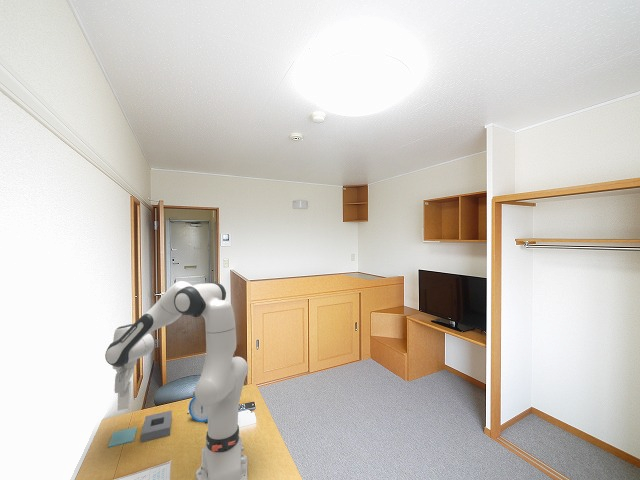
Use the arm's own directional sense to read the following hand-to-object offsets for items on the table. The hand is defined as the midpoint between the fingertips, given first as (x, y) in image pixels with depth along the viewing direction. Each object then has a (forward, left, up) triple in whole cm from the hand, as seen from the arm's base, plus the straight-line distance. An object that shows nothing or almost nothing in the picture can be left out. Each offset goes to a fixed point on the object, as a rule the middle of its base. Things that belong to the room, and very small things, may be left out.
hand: (124, 393), depth 123 cm
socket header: (0, -13, -20) cm, 24 cm away
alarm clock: (0, -33, -20) cm, 39 cm away
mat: (0, 0, -20) cm, 20 cm away
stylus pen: (+13, -29, -20) cm, 38 cm away
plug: (0, 0, -6) cm, 6 cm away
